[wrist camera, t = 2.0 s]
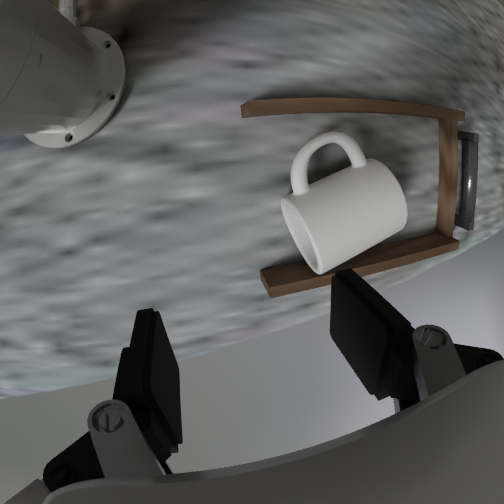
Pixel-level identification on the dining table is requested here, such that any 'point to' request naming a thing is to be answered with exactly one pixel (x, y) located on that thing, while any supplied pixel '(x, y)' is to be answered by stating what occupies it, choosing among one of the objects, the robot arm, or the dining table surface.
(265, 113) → the frame
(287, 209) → the mug
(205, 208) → the dining table surface
